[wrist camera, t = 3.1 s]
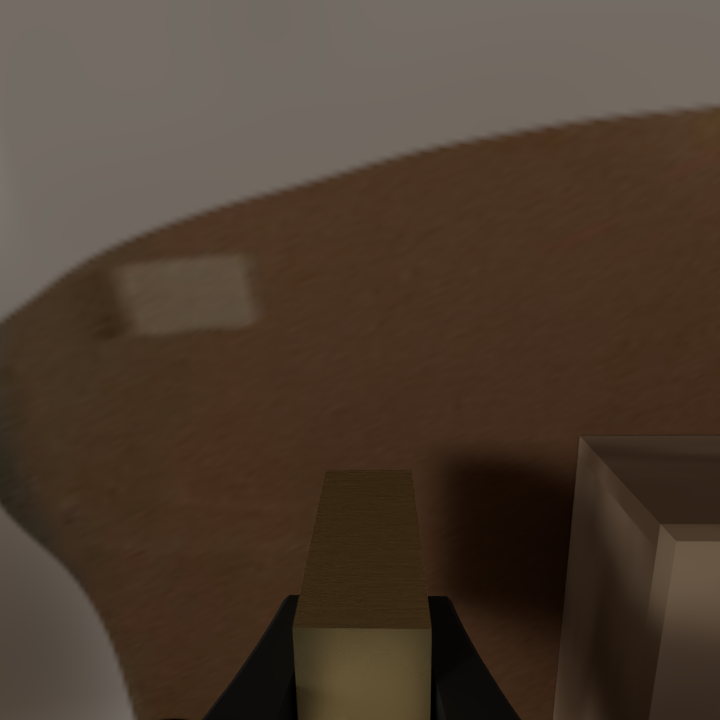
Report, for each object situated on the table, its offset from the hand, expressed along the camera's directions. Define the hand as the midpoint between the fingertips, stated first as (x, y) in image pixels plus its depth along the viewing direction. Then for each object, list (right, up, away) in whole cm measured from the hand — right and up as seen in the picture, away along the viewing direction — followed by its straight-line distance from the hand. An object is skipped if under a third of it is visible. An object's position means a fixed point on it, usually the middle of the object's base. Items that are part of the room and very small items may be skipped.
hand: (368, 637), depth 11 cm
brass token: (0, +1, +2) cm, 2 cm away
